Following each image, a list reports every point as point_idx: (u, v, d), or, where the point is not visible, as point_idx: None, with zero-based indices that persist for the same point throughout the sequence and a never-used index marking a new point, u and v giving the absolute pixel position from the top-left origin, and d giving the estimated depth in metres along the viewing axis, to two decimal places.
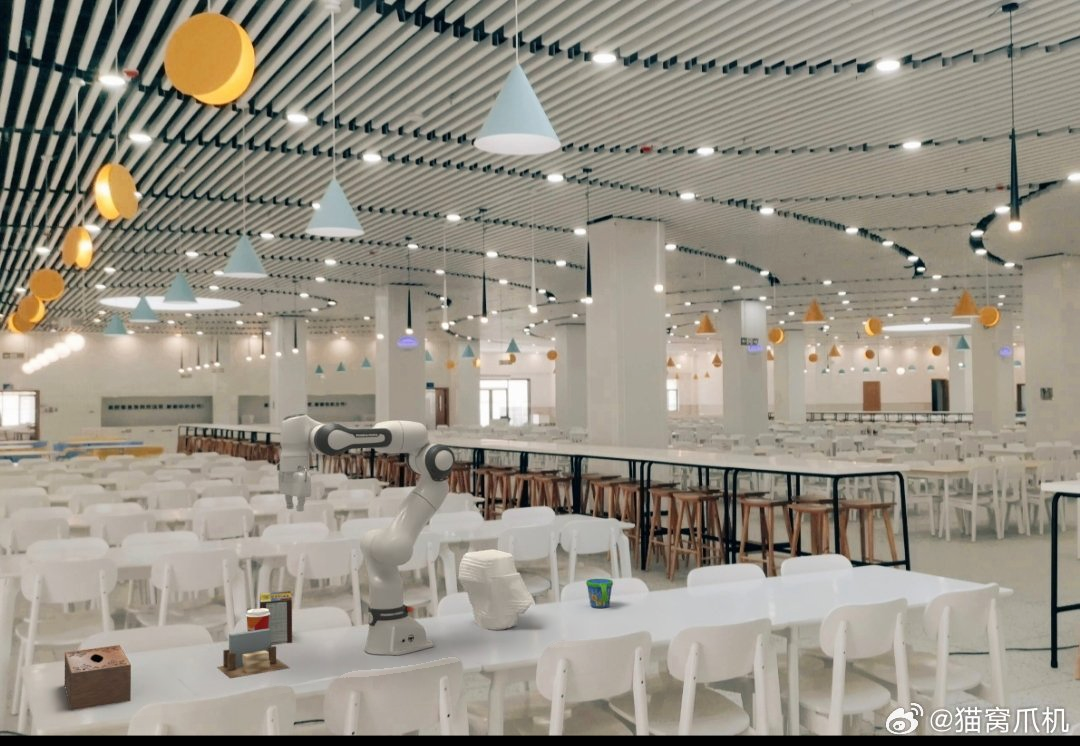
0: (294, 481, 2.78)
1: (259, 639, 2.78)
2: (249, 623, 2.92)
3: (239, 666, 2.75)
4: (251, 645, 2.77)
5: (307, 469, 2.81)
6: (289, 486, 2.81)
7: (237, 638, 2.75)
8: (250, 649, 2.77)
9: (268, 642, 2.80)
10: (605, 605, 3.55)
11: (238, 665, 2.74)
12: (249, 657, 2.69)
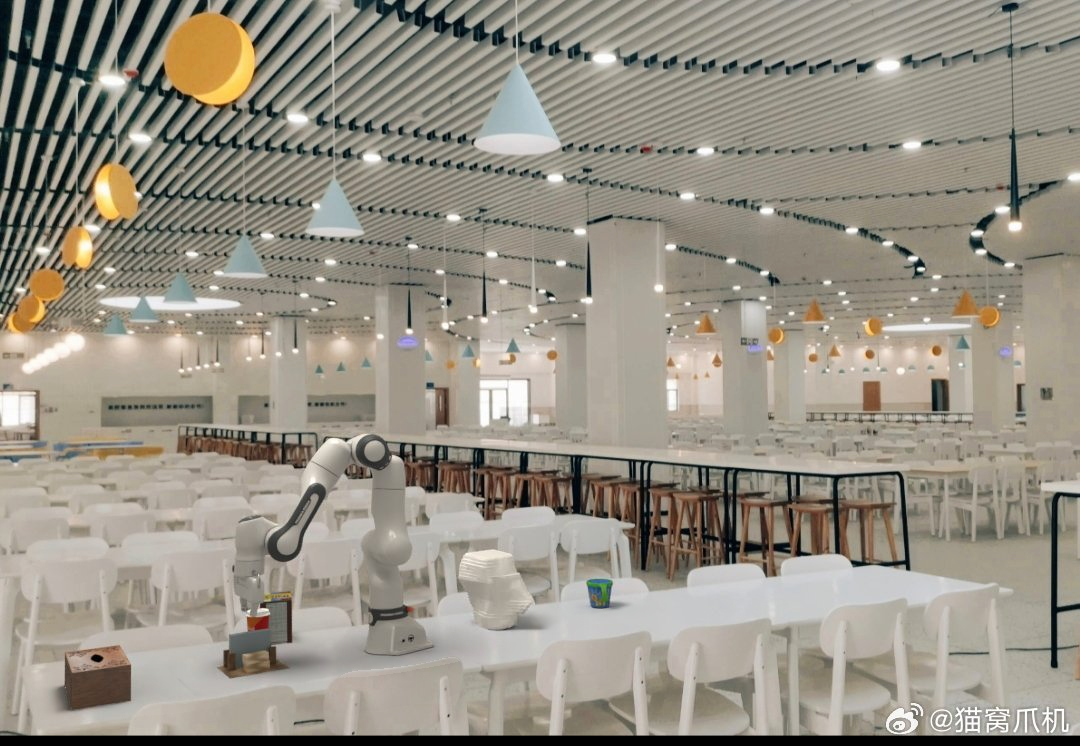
0: (247, 586, 2.75)
1: (259, 639, 2.78)
2: (249, 623, 2.92)
3: (239, 666, 2.75)
4: (251, 645, 2.77)
5: (262, 573, 2.78)
6: (243, 590, 2.77)
7: (237, 638, 2.75)
8: (250, 649, 2.77)
9: (268, 642, 2.80)
10: (605, 605, 3.55)
11: (238, 665, 2.74)
12: (249, 657, 2.69)
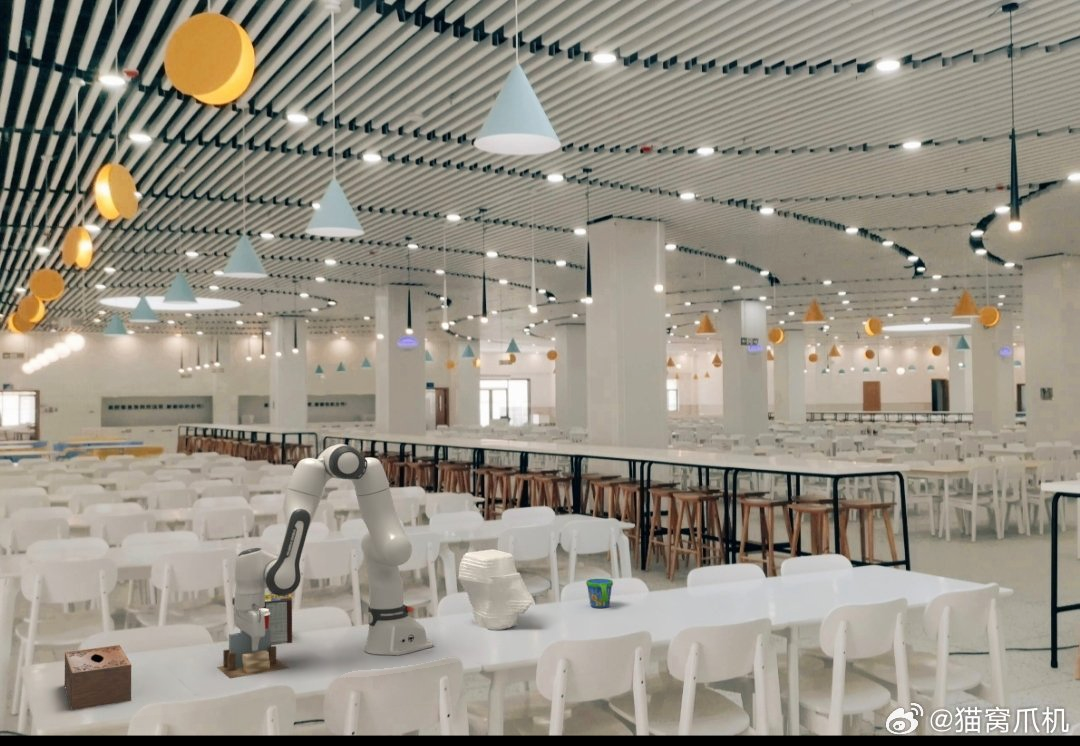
0: (248, 619, 2.74)
1: None
2: None
3: (239, 666, 2.75)
4: None
5: (262, 606, 2.77)
6: (244, 624, 2.77)
7: (237, 638, 2.75)
8: (250, 649, 2.77)
9: (268, 642, 2.80)
10: (605, 605, 3.55)
11: (238, 665, 2.74)
12: (249, 657, 2.69)
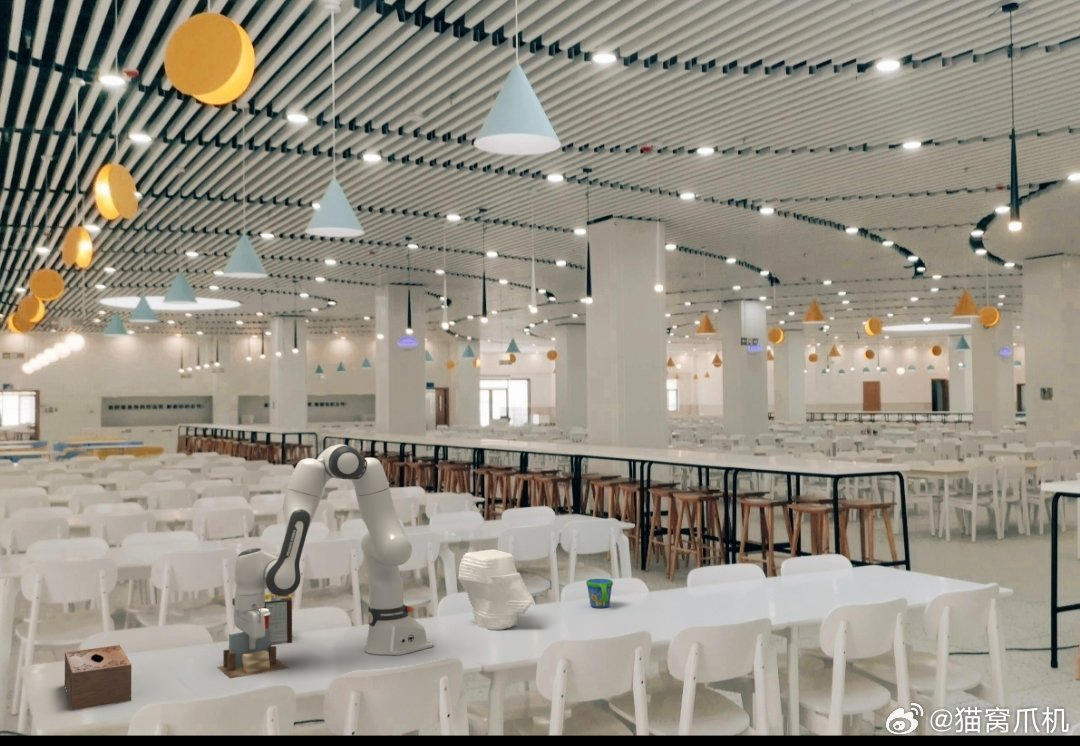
0: (248, 620, 2.74)
1: (259, 639, 2.78)
2: None
3: (239, 666, 2.75)
4: None
5: (262, 606, 2.77)
6: (244, 624, 2.77)
7: (237, 638, 2.75)
8: (250, 649, 2.77)
9: (268, 642, 2.80)
10: (605, 605, 3.55)
11: (238, 665, 2.74)
12: (249, 657, 2.69)
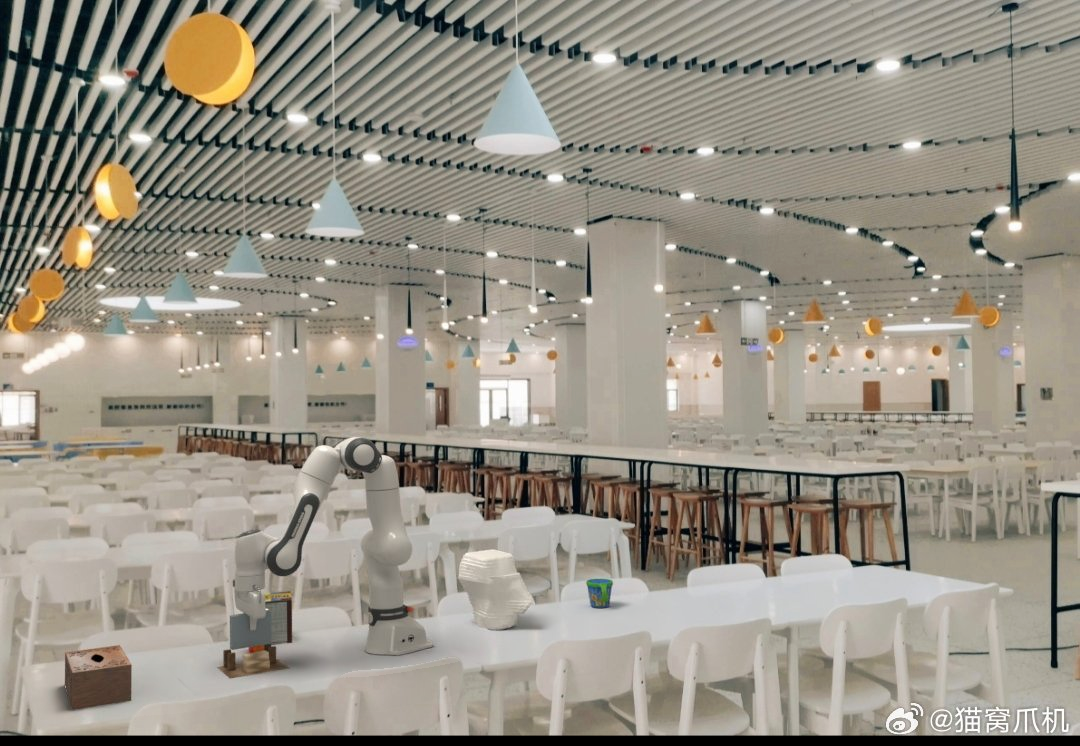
0: (249, 601, 2.75)
1: (260, 620, 2.79)
2: None
3: (240, 647, 2.75)
4: None
5: (262, 587, 2.78)
6: (244, 605, 2.77)
7: (237, 619, 2.75)
8: (251, 630, 2.77)
9: (269, 623, 2.80)
10: (605, 605, 3.55)
11: (239, 646, 2.75)
12: (249, 657, 2.69)
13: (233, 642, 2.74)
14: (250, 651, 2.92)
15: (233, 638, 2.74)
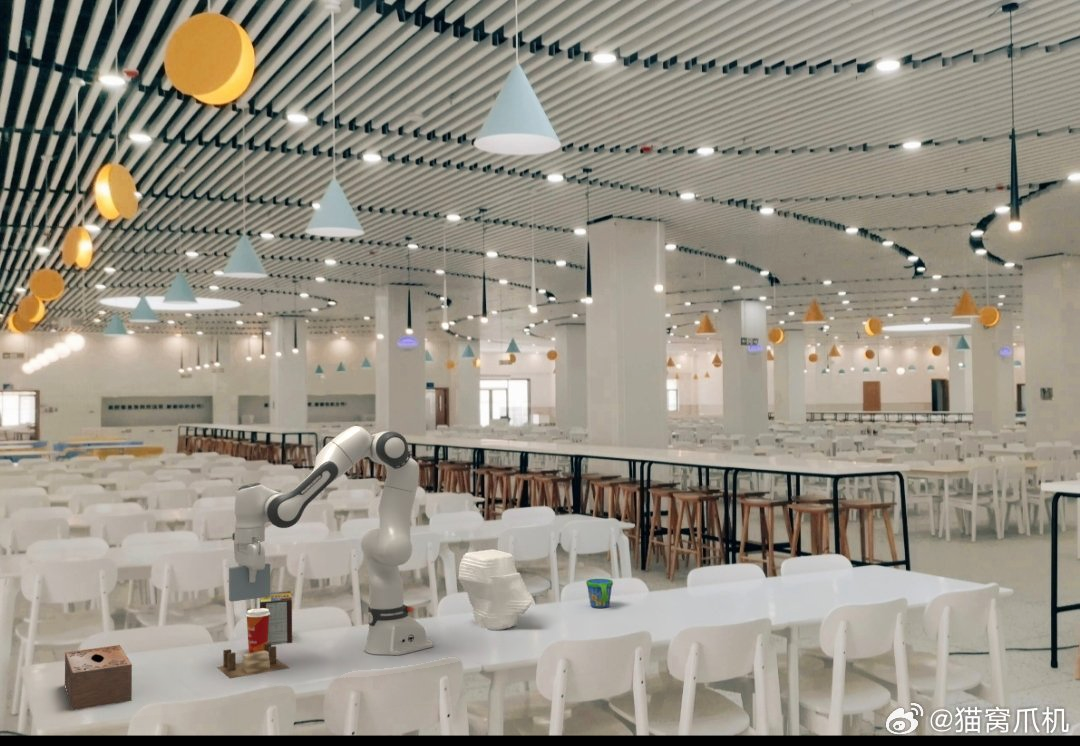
0: (248, 553, 2.75)
1: (259, 572, 2.79)
2: (249, 623, 2.92)
3: (239, 599, 2.75)
4: None
5: (262, 540, 2.78)
6: (244, 558, 2.78)
7: (236, 571, 2.75)
8: (250, 582, 2.78)
9: (268, 576, 2.81)
10: (605, 605, 3.55)
11: (238, 598, 2.75)
12: (249, 657, 2.69)
13: (232, 594, 2.74)
14: (250, 651, 2.92)
15: (232, 590, 2.74)
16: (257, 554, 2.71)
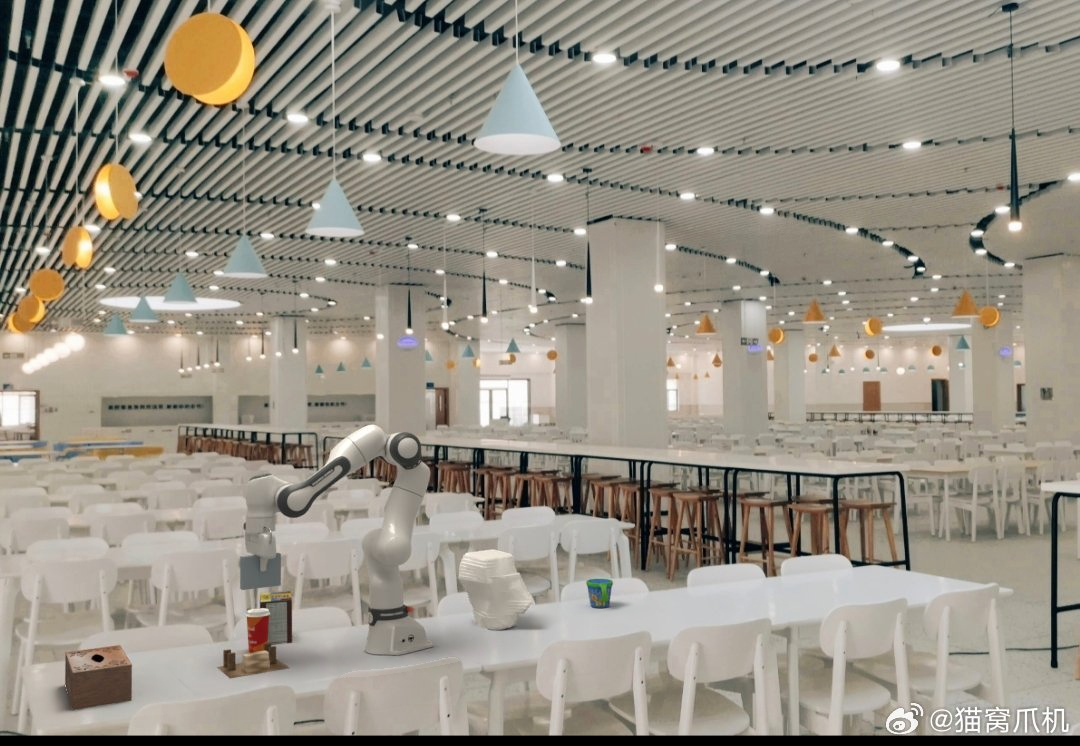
0: (259, 542, 2.79)
1: (270, 562, 2.83)
2: (249, 623, 2.92)
3: (250, 587, 2.79)
4: None
5: (273, 529, 2.82)
6: (255, 547, 2.82)
7: (248, 560, 2.79)
8: (261, 571, 2.82)
9: (278, 565, 2.85)
10: (605, 605, 3.55)
11: (249, 586, 2.79)
12: (249, 657, 2.69)
13: (243, 582, 2.78)
14: (250, 651, 2.92)
15: (243, 578, 2.79)
16: (268, 543, 2.75)
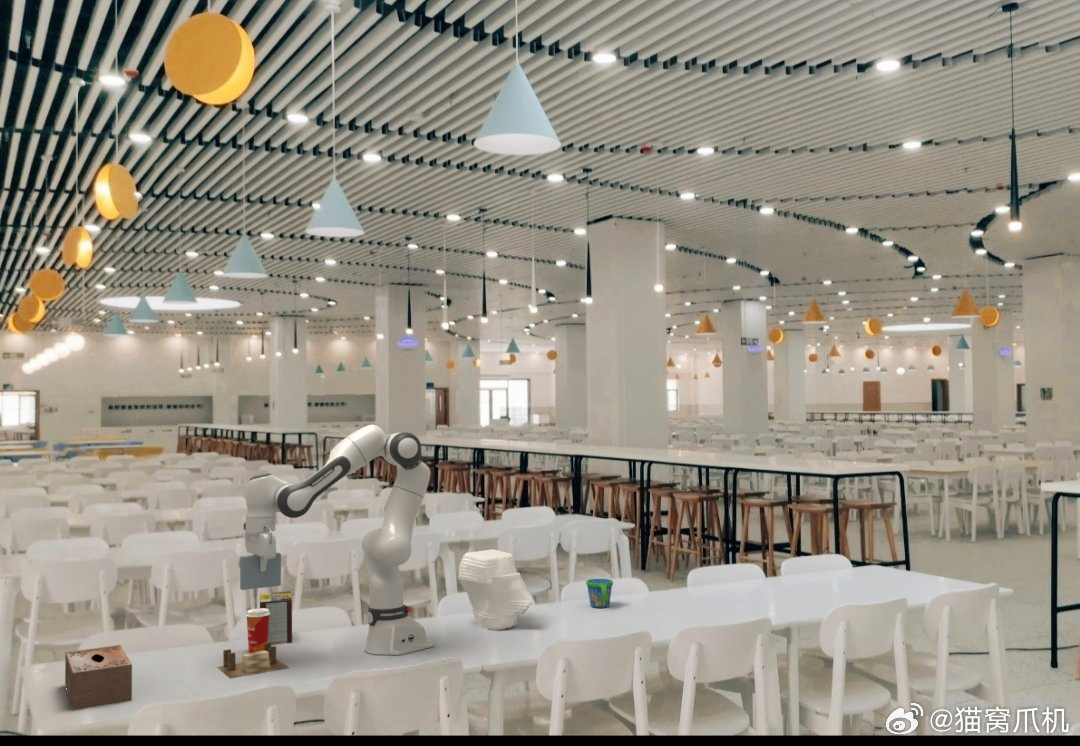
0: (259, 542, 2.79)
1: (270, 562, 2.83)
2: (249, 623, 2.92)
3: (250, 587, 2.79)
4: None
5: (273, 529, 2.82)
6: (255, 547, 2.82)
7: (248, 560, 2.79)
8: (261, 571, 2.82)
9: (278, 565, 2.85)
10: (605, 605, 3.55)
11: (249, 586, 2.79)
12: (249, 657, 2.69)
13: (243, 582, 2.78)
14: (250, 651, 2.92)
15: (243, 578, 2.79)
16: (268, 543, 2.75)
